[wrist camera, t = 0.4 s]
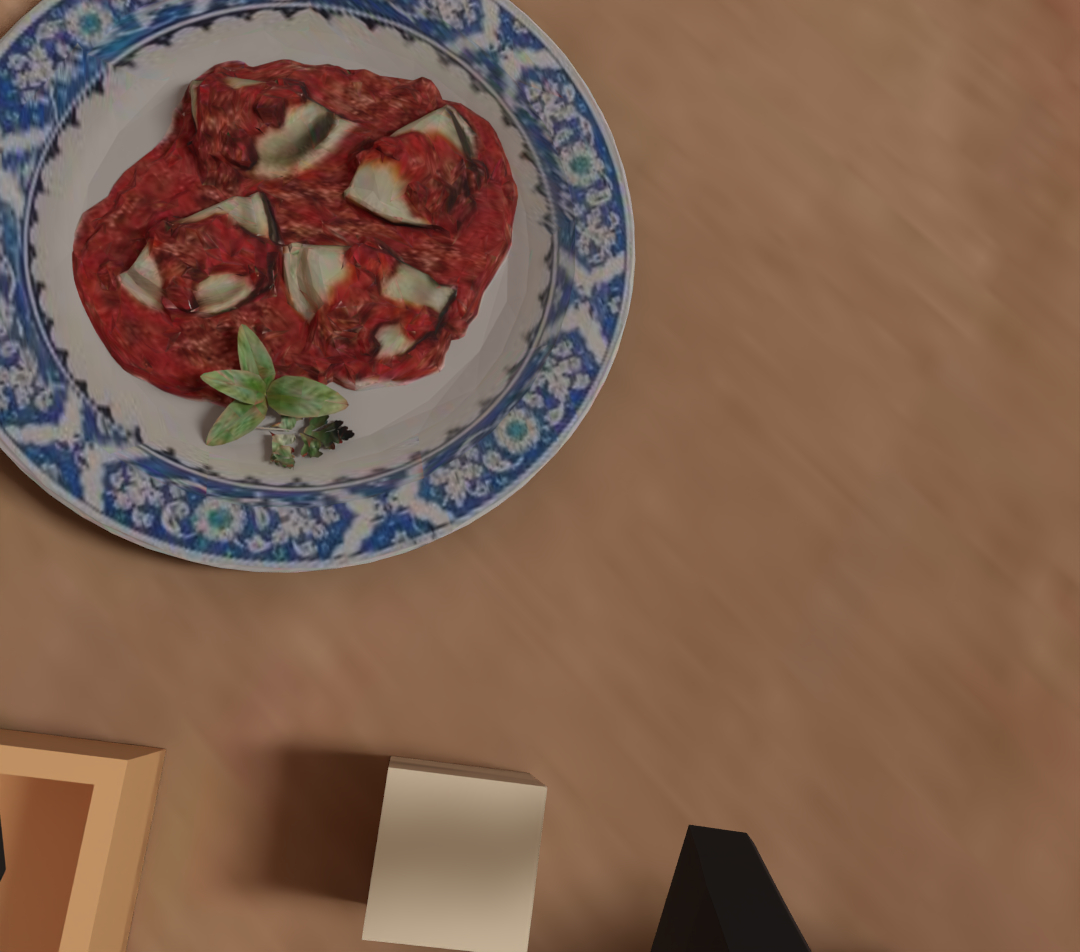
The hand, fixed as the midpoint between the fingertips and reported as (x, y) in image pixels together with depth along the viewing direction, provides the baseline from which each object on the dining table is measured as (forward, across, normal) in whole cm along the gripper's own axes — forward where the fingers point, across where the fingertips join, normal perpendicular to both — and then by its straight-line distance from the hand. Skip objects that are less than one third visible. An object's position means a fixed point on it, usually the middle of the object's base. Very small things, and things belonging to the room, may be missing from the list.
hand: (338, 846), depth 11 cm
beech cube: (+19, -1, +19) cm, 27 cm away
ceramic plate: (+32, +8, +3) cm, 33 cm away
